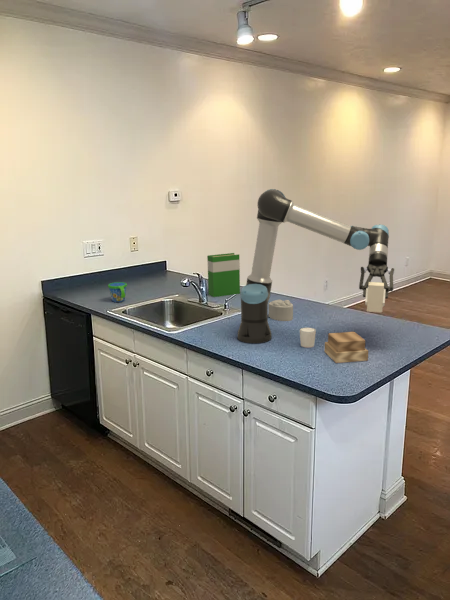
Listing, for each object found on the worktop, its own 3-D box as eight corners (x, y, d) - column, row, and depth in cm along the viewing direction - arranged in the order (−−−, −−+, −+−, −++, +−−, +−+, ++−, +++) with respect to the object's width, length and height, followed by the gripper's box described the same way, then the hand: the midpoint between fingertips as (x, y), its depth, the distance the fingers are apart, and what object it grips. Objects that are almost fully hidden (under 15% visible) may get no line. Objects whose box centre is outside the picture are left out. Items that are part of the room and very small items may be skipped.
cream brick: (366, 311, 202) (368, 285, 199) (367, 307, 208) (368, 281, 205) (382, 312, 200) (384, 285, 198) (382, 308, 206) (383, 282, 203)
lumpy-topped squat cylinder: (281, 313, 259) (281, 297, 257) (298, 319, 249) (298, 302, 247) (265, 316, 254) (265, 300, 252) (281, 322, 243) (281, 305, 241)
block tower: (335, 363, 191) (336, 343, 189) (324, 351, 204) (324, 332, 202) (367, 360, 193) (368, 341, 191) (354, 349, 205) (355, 330, 203)
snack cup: (131, 302, 287) (130, 285, 284) (113, 305, 282) (112, 287, 280) (123, 297, 300) (122, 280, 298) (106, 299, 296) (104, 282, 293)
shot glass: (304, 341, 216) (304, 326, 214) (318, 344, 212) (319, 329, 210) (296, 345, 211) (296, 330, 209) (310, 349, 206) (310, 333, 205)
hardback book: (234, 291, 309) (233, 252, 303) (239, 293, 303) (239, 254, 297) (208, 294, 301) (207, 255, 295) (213, 297, 295) (212, 257, 289)
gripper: (401, 263, 211) (399, 310, 200) (355, 261, 217) (350, 307, 206) (402, 252, 205) (400, 300, 194) (355, 251, 210) (350, 297, 200)
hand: (374, 304), depth 200 cm, fingers closed on cream brick, 6 cm apart
